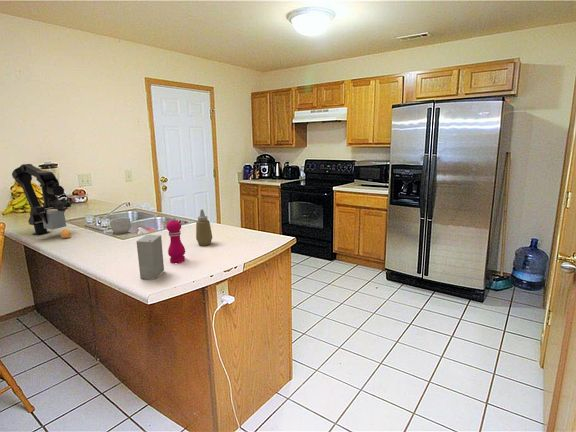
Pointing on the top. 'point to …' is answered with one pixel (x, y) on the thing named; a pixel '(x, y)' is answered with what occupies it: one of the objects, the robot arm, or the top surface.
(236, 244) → the top surface
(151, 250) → the skincare box
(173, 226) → the pepper mill
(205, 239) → the squeeze bottle
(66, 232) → the ball
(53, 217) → the grey block
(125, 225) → the teacup
